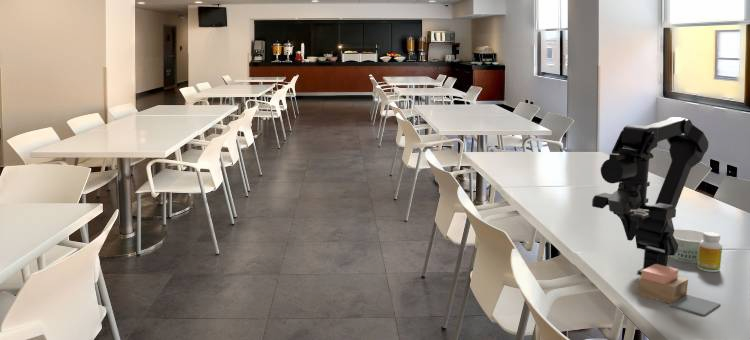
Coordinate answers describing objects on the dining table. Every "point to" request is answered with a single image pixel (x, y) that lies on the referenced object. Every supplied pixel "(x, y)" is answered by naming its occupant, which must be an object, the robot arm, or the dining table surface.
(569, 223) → the dining table surface
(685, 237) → the food container
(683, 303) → the mat
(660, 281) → the pink block
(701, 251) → the supplement bottle
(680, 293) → the brown square block
